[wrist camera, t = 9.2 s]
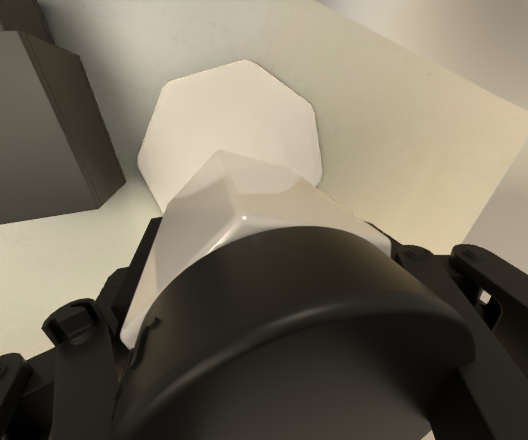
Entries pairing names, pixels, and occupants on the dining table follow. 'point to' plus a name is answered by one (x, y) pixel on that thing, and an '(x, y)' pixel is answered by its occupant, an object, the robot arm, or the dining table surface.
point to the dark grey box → (50, 134)
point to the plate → (226, 127)
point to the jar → (279, 320)
